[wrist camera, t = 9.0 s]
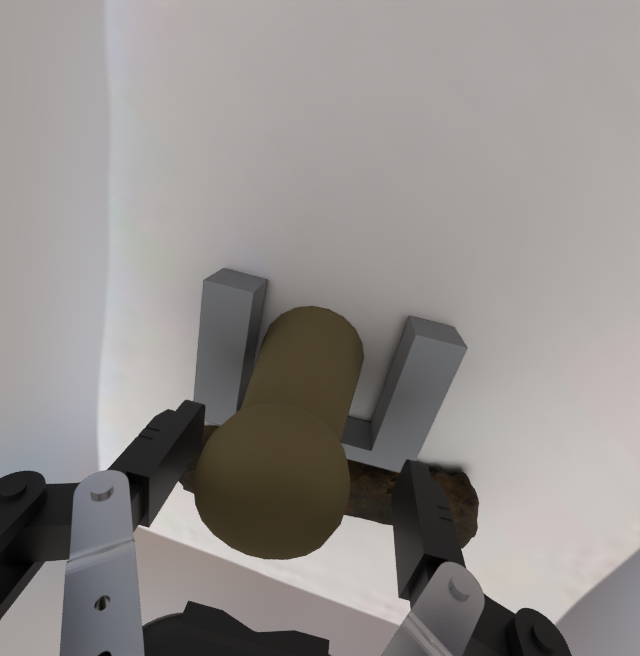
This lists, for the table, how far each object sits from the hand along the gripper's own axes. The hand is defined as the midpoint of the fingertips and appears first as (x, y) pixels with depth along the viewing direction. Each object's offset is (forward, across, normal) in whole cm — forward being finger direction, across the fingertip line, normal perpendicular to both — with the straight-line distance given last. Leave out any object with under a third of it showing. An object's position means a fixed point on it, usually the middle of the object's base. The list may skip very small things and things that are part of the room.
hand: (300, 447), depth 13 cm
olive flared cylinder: (+8, +1, 0) cm, 8 cm away
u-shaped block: (+8, 0, 0) cm, 8 cm away
